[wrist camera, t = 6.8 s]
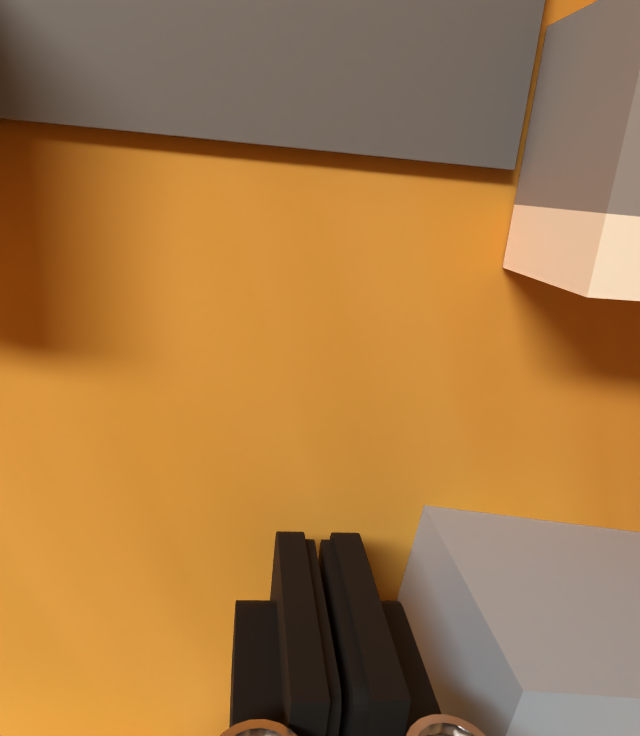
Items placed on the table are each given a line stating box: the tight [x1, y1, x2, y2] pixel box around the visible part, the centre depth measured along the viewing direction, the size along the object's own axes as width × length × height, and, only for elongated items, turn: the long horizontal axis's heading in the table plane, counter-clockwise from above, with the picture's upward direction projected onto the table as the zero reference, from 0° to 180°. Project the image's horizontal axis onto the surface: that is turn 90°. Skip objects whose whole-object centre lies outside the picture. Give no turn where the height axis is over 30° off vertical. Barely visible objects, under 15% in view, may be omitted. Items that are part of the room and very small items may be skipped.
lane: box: [0, 0, 640, 301], centre depth 12 cm, size 29×24×3 cm
